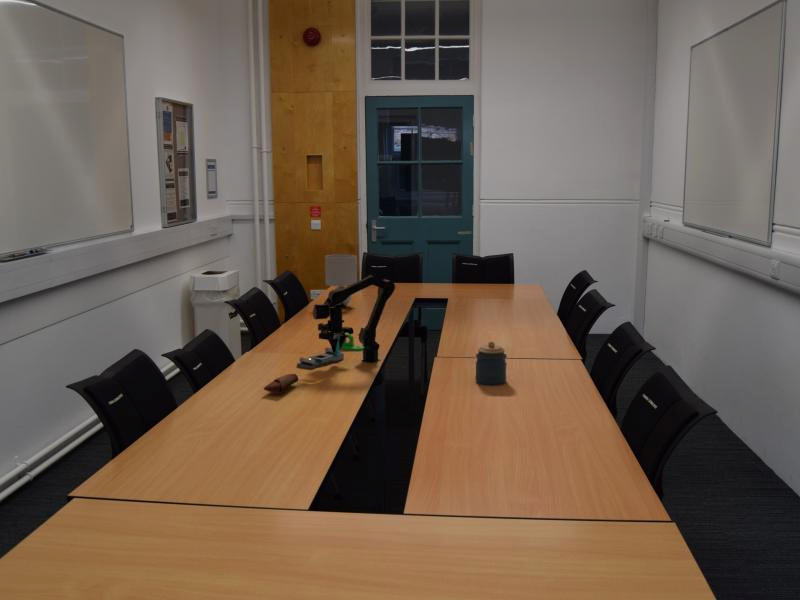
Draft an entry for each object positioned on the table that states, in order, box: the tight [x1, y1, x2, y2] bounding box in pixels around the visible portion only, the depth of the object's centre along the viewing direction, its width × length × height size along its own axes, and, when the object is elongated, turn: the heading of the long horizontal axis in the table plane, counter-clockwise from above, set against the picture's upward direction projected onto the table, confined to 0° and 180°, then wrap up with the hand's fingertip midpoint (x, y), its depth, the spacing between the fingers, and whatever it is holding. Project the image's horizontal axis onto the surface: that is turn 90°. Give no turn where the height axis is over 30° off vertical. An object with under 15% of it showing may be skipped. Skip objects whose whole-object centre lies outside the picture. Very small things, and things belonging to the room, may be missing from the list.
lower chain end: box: [296, 357, 334, 370], centre depth 371 cm, size 8×16×4 cm, turn 145°
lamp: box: [324, 254, 358, 306], centre depth 518 cm, size 20×20×35 cm
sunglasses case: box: [263, 373, 299, 395], centre depth 330 cm, size 18×7×7 cm
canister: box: [474, 341, 508, 387], centre depth 338 cm, size 13×13×18 cm
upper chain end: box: [307, 346, 345, 363], centre depth 378 cm, size 8×16×5 cm, turn 145°
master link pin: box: [333, 336, 341, 357], centre depth 371 cm, size 4×4×9 cm
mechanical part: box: [341, 333, 365, 352], centre depth 402 cm, size 12×6×8 cm, turn 71°
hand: (336, 351), depth 371 cm, fingers closed on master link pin, 3 cm apart
